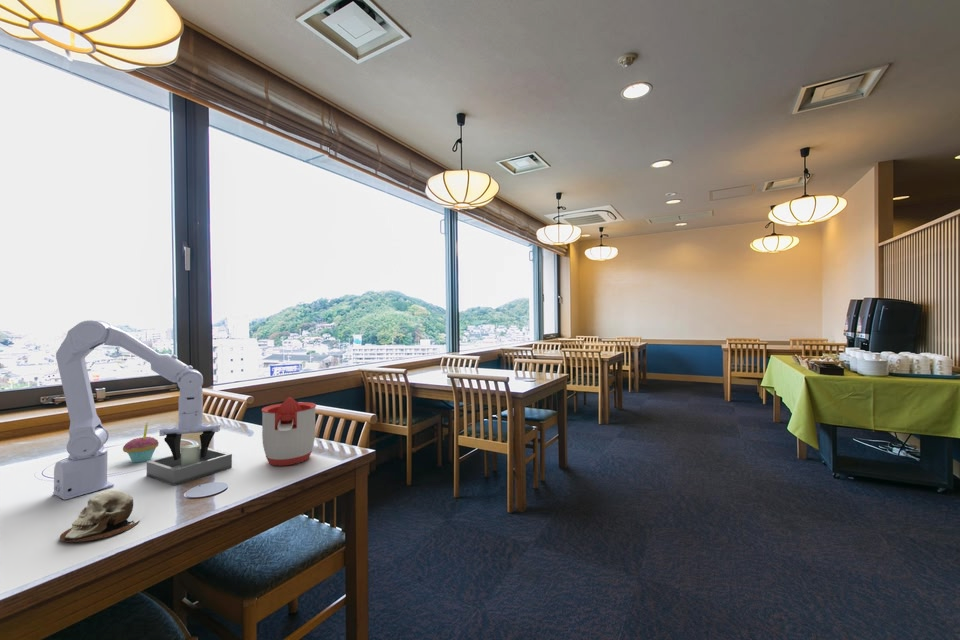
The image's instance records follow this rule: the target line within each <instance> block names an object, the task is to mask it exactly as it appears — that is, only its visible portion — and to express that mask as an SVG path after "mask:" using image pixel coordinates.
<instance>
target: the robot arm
mask: <svg viewBox="0 0 960 640" xmlns="http://www.w3.org/2000/svg"><path fill="white" fill-rule="evenodd" d="M101 345H104V346H112V347H114V346H115V347H120V348H122V349H124V350H125V351H128V352H130V353H131V354H134V355H135V356H137V357H139V358H140V359H142V360H144V361H146V362H148V363H150V369H151V371H153V372H154V373H156V374H157V375H160V376H161V377H162V378H165V379H166V380H168V381H169V382H172V383H175V384H176V383H177V387H178V389H179V396H178V416H177V417H178V421H177V422H178V425H177V426H176V425H175V426H168V427H162V428H160V429H159V431H158V432H159V433H158V434H159V437H164V436H165V437H164V439H163V440H164V442H165V443H166V445H167V446H168V448H169V449H170V451H171V455H173V458H174V460H178V459H179V458H180V453H181V440H182V436H183V435H186V434H198V433H201V434H200V435H199V439H200V448H201V458H204V457H205V456H206V454H207V450H208V448H209V446H210V444H211V442H212V439H213V438H214V436H215V434H216V433H218V432H220V431H221V424H220V423H203V422H204V421H203V420H204V416H203V415H204V413H203V411H204V410H203V407H204V403H203V402H204V401H203V400H204V395H203V394H202V393H203V387H202V386H203V385H204V377H203V374H202V373H201V372H200V371H199V370H198V369H194V367H193V366H192V365H188V364H186V363H185V362H182V361H181V360H180V359H178V356H177V355H176V354H170V353H162V354H161V353H159V352H157V351H156V350H154V349H153V348H151V347H150V346H148V345H147V344H145V343H144V342H142V341H140V340H139V339H137V338H136V337H135V336H133V335H131V334H130V333H128V332H127V331H125V330H122V329H121V328H119V327H117V326H112V325H111V324H110V323H108V322H106V321H103V320H92V319H91V320H90V319H89V320H84V321H81V322H79V323H77V324H76V325H74V326H73V327H71V328H70V329H69V330H68V331H67V334H66V336H65V338H64V340H63V341H62V343H61V344H60V346H59V347H58V349H57V351H56V353H55V358H56V362H57V367H58V372H59V377H60V381H61V385H62V386H61V387H62V391H63V395H64V399H65V403H66V408H67V412H68V417H69V420H70V421H69V422H70V423H69V427H68V428H69V429H68V435H69V438H68V442H67V444H66V451H67V453H68V458H66V459H64V460H61V461H57V462H55V465H54V468H53V469H54V470H53V492H52V495H55V496H56V497H58V498H60V499H63V500H68V499H69V500H70V499H73V498H77V497H79V496H83V495H86V494H90V493H93V492H94V493H95V492H98V491H100V490H105V489H107V488H108V489H109V488H111V487H114V486H115V484H114V483H113V482H110V481H108V449H107V448H106V446H104V445H105V444H106V443H107V442H108V440H109V436H110V435H109V431H108V430H107V428H105V427H104V426H103V423H102V421H101V419H100V417H99V415H98V414H97V409H96V404H95V400H94V395H93V390H92V386H91V381H90V377H89V373H88V372H89V371H88V368H87V362H86V357H87V356H88V355H90V353H92V352H93V351H94V350H95V349H96V348H97V347H100V346H101Z"/></svg>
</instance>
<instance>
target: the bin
mask: <svg viewBox="0 0 960 640" xmlns="http://www.w3.org/2000/svg"><path fill="white" fill-rule="evenodd" d="M232 467H233V454H232V453H229V452H225V451H221V450H218V449H214V448H209V447H208V450H207V454H206V456H205V457H204V458H201V447H200V460H199V463H195V464H192V465H188V466H184V467H181V452H180V458H179V459H178V460H174V458H173V454H171V455H167V456H163V457H159V458H156V459H152V460H151V459H150V460H147V461H146V476H147V477H149V478H152V479H154V480H158V481H160V482H162V483H166V484H169V485H171V486H178V485H181V484H184V483H187V482H191V481H193V480H194V481H195V480H196V479H200V478H202V477H205V476H208V475H212V474H215V473H218V472H223V471H225V470H229V469H232Z"/></svg>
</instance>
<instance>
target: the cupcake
mask: <svg viewBox="0 0 960 640" xmlns="http://www.w3.org/2000/svg"><path fill="white" fill-rule="evenodd" d="M148 427H149V426H148V422H146V423H145V425H144V430H143V435H142V437H136V438H133V439H132V440H129V441H127V443H125V444H124V445H123V447H122V450H123V452H124V453H127V454H128V456H129V459H130V460H131V462H132V463H143V462H147V461H151V459H152V458H153V455H154V452H155V450H156V448H158V447H159V443H160V442H159V441H158V439H156V438H154V437H151V436H147V433H148Z"/></svg>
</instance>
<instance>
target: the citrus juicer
mask: <svg viewBox="0 0 960 640" xmlns="http://www.w3.org/2000/svg"><path fill="white" fill-rule="evenodd" d="M316 407H317V404H316V403H314V402H307V401H305V402H304V401H296V400H295V399H294V398H293V397H291V396H289V397H287V398H286V399H285V400H284V401H283V402H282V403H275V404H271V405H268V406H265V407H263V408H261V412H262V420H261V421H262V423H261V424H262V428H261V429H262V432H261V433H262V435H261V439H262V447H263V450H264V451H263V452H264V454H265V458H266V460H267V463H268V464H270V465H272V466H273V465H278V466H281V467H282V466H283V467H284V466H290V465H291V466H292V465H296V464H295V463H299V462H302V461H303V462H305V461H307V460H309V458H310V457H311V454H312V452H313V447H314V443H315V439H316ZM306 459H307V460H306ZM304 460H305V461H304ZM303 462H302V463H303ZM299 464H300V463H299ZM278 466H277V467H278Z"/></svg>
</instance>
